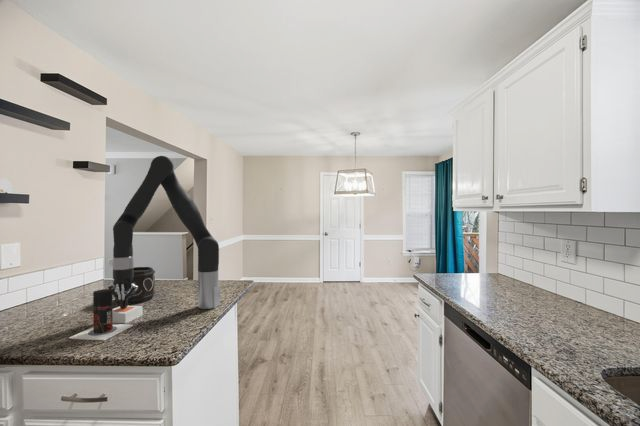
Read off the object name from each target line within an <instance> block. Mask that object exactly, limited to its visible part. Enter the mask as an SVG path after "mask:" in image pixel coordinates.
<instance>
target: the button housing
mask: <svg viewBox="0 0 640 426" xmlns="http://www.w3.org/2000/svg"><path fill="white" fill-rule="evenodd" d="M127 307H134V308H133V309H130V310H128V311H126V312H115V311H113V324H127V323H129V322H131V321H133V320H136V319H137V318H139V317H142V316H143V315H144V314H143V308H144V307H143V305H128V306H127ZM118 308H120V305H119V306H117V307H114V308H113V310H115V309H118Z"/></svg>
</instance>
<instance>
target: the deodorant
mask: <svg viewBox="0 0 640 426" xmlns="http://www.w3.org/2000/svg"><path fill="white" fill-rule="evenodd" d="M92 297H93V298H92V301H93V302H92V303H93V304H92V306H93V307H92V308H93V309H92V310H93V312H92V313H93V316H92V318H93V321H92V322H93V324H92V325H93V326H92V327H93V332H94V333H96V334H99V333H105V332H109V331H111V330H112V329H113V324H114V323H113V309H114V308H113V294H112V289H108V288H106V289H104V288H103V289H98V290H95V291H93V292H92Z"/></svg>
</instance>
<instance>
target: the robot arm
mask: <svg viewBox="0 0 640 426" xmlns="http://www.w3.org/2000/svg"><path fill="white" fill-rule="evenodd" d="M174 167H175V166H174V163H173V160H172V159H171V158H169V157H167V156H165V155H158V156H155V157H154V158H153V159H152V161H151V162H150V166H149V169H148V171H147V174H146V175H145V177H144V179H143V181H142V182H141V184H140V186H139V187H138V188H137V190H136V191H135V193H134V194H133V195H132V198H130V200H129V202H128V203H127V205H126V207H125V208H124V210H123V212H122V214H121V215H120V216H119V218H118V219H117V220H116V222H115V223H114V225H113V227H112V233H113V249H112V251H113V252H112V253H113V254H112V255H113V258H112V280H113V281H112V285H110V286H108V288H107V289H112V297H114V299H115V298H118V299H119V306H120V308H126V307H127V306H129V304H128V298H130V297H132V296H133V295H134V293H135V292H136V291H137V289H138V288H139V286H136V285H134V281H133V277H134V266H135V265H134V264H135V263H134V261H135V260H134V248H133V238H134V237H133V235H134V228H135V226H136V224H137V222H138V220H139V219H140V218H141V217H142V216H143V215H144V213H145V212H146V210H147V209H148V207H149V205H150V204H151V201H152V199H153V197H154V196H155V193H156V192H157V190H158V188H159V187H160V186H162V189H163V190H164V191H165V193H166V195H167V198H168V200H169V202H170V205H171V206H172V208H173V210H174V212H175V213H176V215H177V216H178V218H179V220H180V221H181V222H182V224H183V225H184V226H185V228H186V229H187V230H188V231H189V232H190V234H191V236H192V238H193V240H194V242H195V245H196V247H197V305H198V306H197V307H198V309H200V310H209V309H216V308H217V307H219V306H220V305H221V285H220V284H219V262H220V246H219V243H218V241H217V240H216V239H215V238H214V236H212V234H211V232H210V231H209V230H208V229H207V227H206V225H205V222H204V220H203V217H202V215H201V213H200V211H199V209H198V207H197V204H196V203H195V202H194V201H195V200H193V198H192V196H191V195H190V194H189V192H187V190H186V189H185V188H184V187H183V185H182V184H181V183H180V181H179V180H178V178H177V176H176V173H175V171H174ZM130 288H131V290H130ZM120 291H121V292H120Z"/></svg>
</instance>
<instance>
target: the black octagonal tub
mask: <svg viewBox="0 0 640 426" xmlns="http://www.w3.org/2000/svg"><path fill="white" fill-rule="evenodd" d="M155 273H156V271H155V270H154V268H153V267H150V266H138V267H137V266H136V267H134V277H133V281H134V285H136V286H139V288H138V289H137V291H136V292H135V293H134V295H133V296H132V297H130V298H128V305H135V304H140V303H141V304H142V303H145V302H148V301H151V300H152V299H153V298H154V296H155V295H156V291H155V289H156V288H155V286H156V283H155V282H156V278H155V277H156V276H155ZM130 290H131V288H130ZM120 292H121V291H120ZM114 299H115V300H116V301H117V303H119V299H118V298H115V297H114ZM119 304H120V303H119Z"/></svg>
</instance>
